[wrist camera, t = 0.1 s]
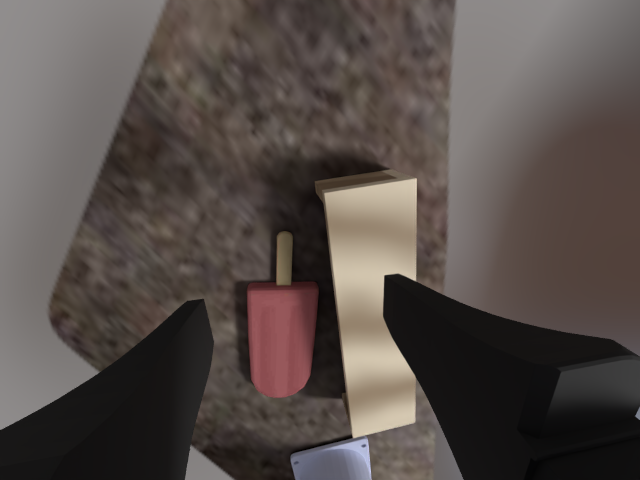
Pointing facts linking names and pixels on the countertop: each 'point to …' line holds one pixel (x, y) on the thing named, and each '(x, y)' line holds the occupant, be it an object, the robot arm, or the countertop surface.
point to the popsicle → (281, 327)
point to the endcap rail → (371, 291)
